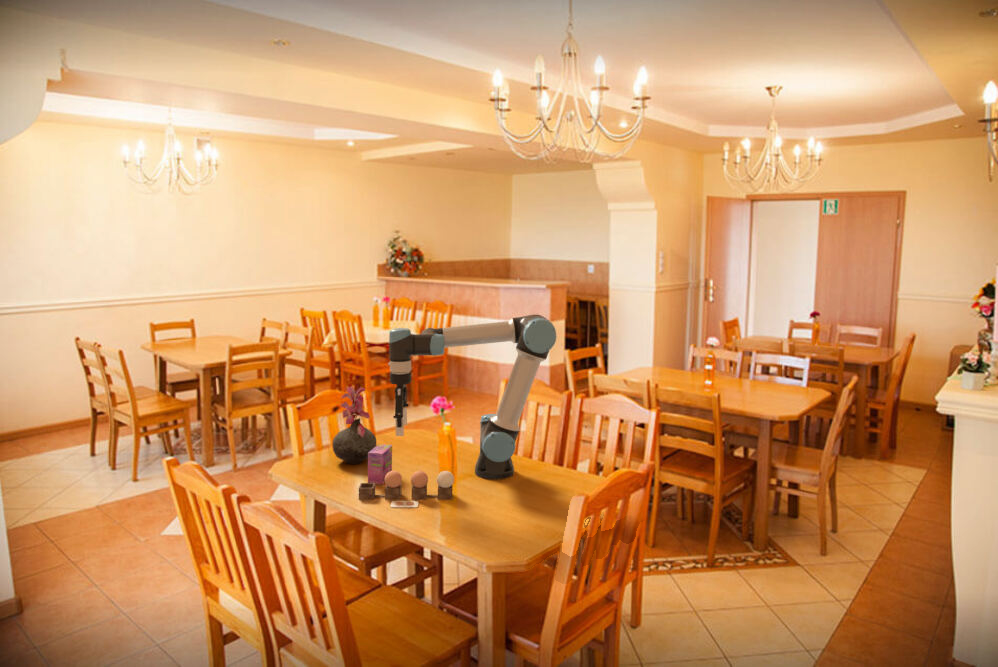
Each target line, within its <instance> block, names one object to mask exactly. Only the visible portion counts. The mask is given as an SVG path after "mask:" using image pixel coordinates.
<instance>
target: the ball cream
mask: <svg viewBox="0 0 998 667" xmlns="http://www.w3.org/2000/svg"><path fill="white" fill-rule="evenodd" d="M454 482H455V477H454V475H453V474H452V472H450V471H448V470H443V471H440V472H439V473H438V475H437V477H436V483H437V485H439V486H440V487H441V488H449V487H451V486H452V485H453V484H454Z"/></svg>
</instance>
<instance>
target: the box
mask: <svg viewBox="0 0 998 667" xmlns="http://www.w3.org/2000/svg"><path fill="white" fill-rule="evenodd" d="M390 471H393V445H392V444H384V443H378V444H376V447H374V448H373V449H372V450H371V451H369V452H368V458H367V483H375V485H383V484H384V483H385V476H386V474H387V473H388V472H390Z"/></svg>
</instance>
